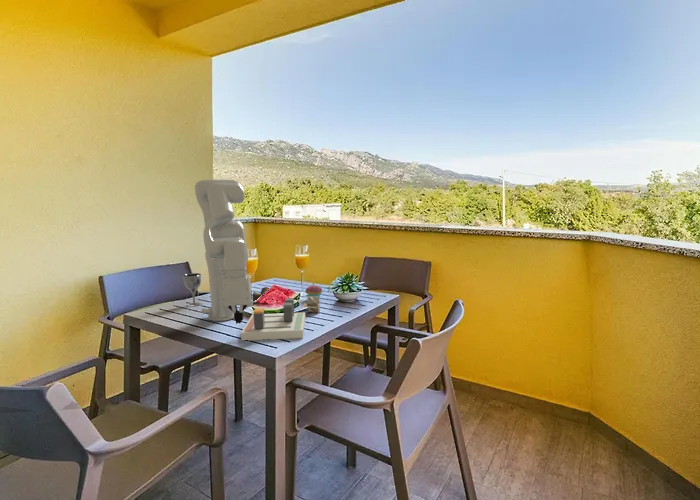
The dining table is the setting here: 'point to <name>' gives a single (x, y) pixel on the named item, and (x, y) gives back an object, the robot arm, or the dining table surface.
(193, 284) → the wine glass
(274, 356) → the dining table surface
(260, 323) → the grey upright block
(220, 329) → the dining table surface
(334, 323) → the dining table surface
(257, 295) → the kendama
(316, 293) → the cupcake
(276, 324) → the switch panel
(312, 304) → the architectural model
